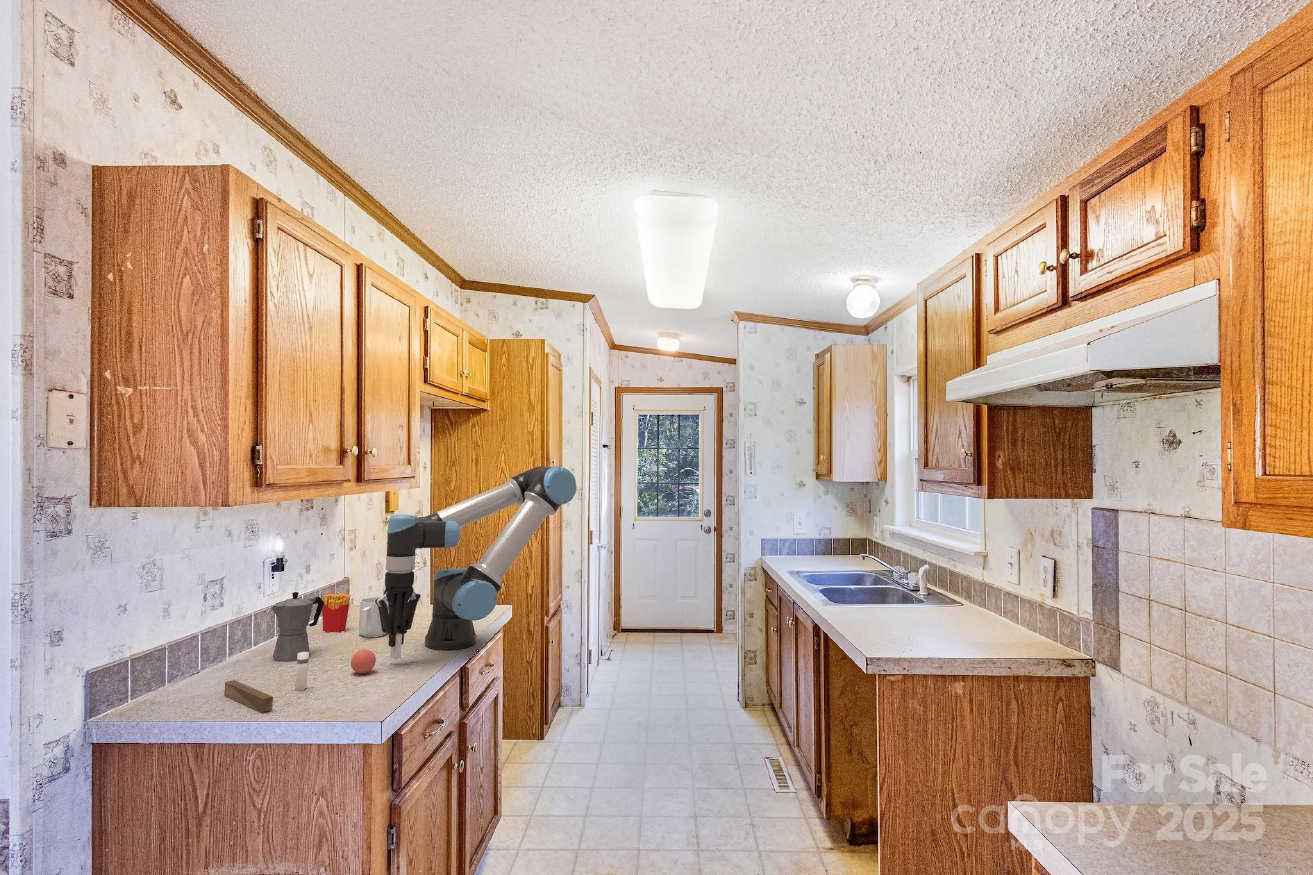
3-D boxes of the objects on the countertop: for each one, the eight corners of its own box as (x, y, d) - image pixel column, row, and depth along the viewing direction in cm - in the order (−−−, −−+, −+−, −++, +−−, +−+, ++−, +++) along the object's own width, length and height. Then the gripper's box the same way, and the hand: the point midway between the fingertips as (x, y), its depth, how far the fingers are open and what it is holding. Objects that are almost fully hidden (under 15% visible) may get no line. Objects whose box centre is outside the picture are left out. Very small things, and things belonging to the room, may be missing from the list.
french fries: (318, 632, 208) (321, 594, 209) (324, 629, 212) (326, 592, 213) (345, 632, 209) (347, 595, 209) (350, 629, 213) (352, 592, 213)
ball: (366, 668, 173) (367, 645, 174) (379, 672, 170) (381, 649, 170) (345, 673, 168) (346, 650, 169) (358, 678, 165) (360, 654, 165)
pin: (303, 686, 158) (305, 651, 158) (309, 688, 156) (311, 652, 157) (293, 689, 156) (295, 653, 156) (298, 691, 154) (300, 655, 155)
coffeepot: (278, 665, 173) (282, 597, 174) (257, 659, 178) (262, 593, 179) (330, 652, 187) (334, 589, 188) (310, 647, 191) (314, 585, 192)
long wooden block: (233, 692, 152) (234, 679, 152) (272, 710, 142) (273, 696, 142) (224, 695, 150) (225, 681, 150) (262, 713, 140) (263, 699, 140)
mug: (366, 630, 212) (368, 596, 213) (393, 631, 212) (395, 597, 213) (348, 640, 200) (350, 603, 201) (376, 641, 200) (378, 605, 201)
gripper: (412, 567, 186) (407, 650, 185) (370, 572, 175) (365, 660, 174) (428, 569, 182) (424, 655, 181) (387, 575, 171) (381, 665, 170)
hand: (395, 657), depth 177 cm, fingers closed
